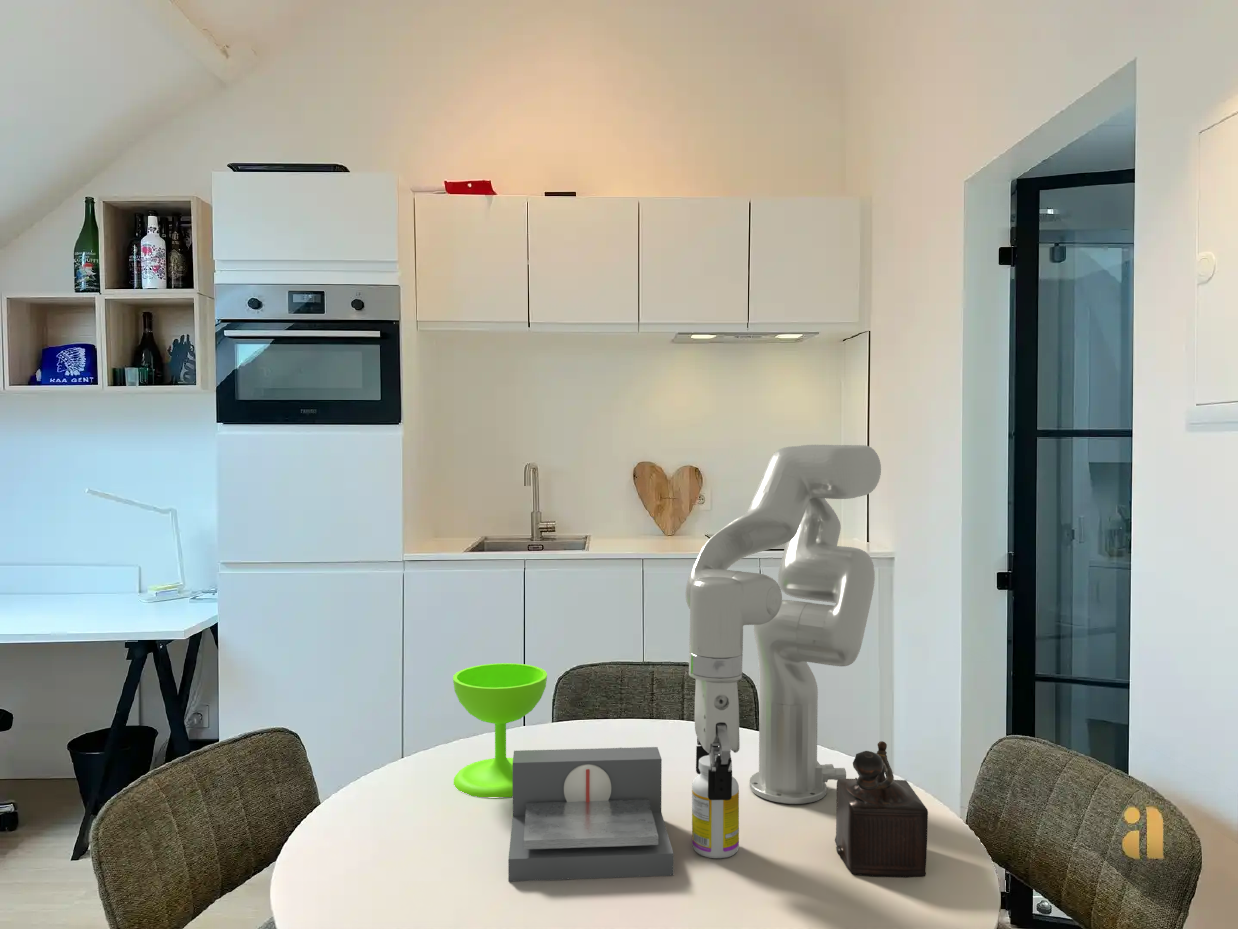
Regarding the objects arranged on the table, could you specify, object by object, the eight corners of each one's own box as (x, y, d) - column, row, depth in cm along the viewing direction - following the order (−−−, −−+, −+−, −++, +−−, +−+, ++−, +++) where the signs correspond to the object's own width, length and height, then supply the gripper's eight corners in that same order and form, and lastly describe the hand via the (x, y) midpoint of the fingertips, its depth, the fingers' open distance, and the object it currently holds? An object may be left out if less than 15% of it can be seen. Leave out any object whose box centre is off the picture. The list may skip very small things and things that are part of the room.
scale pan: (648, 807, 130) (648, 799, 130) (658, 844, 118) (658, 836, 118) (526, 811, 129) (526, 803, 129) (523, 849, 117) (523, 840, 117)
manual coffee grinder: (829, 840, 129) (830, 718, 128) (906, 842, 128) (907, 719, 128) (854, 896, 113) (855, 757, 113) (941, 898, 113) (943, 759, 112)
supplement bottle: (737, 840, 129) (738, 753, 128) (739, 861, 122) (740, 770, 122) (692, 837, 129) (692, 751, 129) (691, 859, 123) (691, 768, 122)
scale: (657, 817, 136) (657, 747, 136) (673, 875, 118) (673, 794, 118) (514, 822, 135) (513, 750, 134) (508, 881, 117) (508, 799, 116)
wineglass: (475, 806, 140) (475, 694, 140) (439, 773, 154) (438, 671, 153) (563, 785, 149) (563, 679, 148) (522, 755, 162) (522, 659, 162)
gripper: (755, 681, 116) (753, 810, 117) (729, 652, 134) (726, 764, 134) (699, 681, 116) (696, 810, 116) (680, 651, 133) (677, 765, 133)
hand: (713, 786), depth 125 cm, fingers open, 9 cm apart
